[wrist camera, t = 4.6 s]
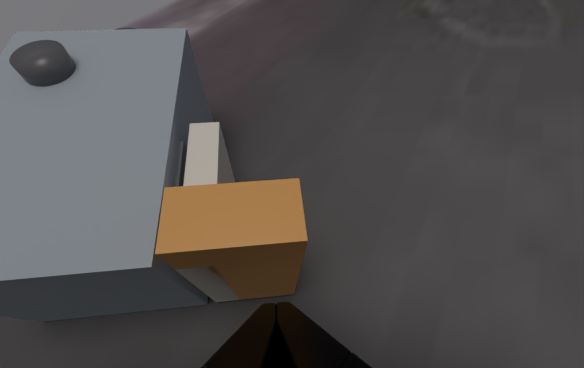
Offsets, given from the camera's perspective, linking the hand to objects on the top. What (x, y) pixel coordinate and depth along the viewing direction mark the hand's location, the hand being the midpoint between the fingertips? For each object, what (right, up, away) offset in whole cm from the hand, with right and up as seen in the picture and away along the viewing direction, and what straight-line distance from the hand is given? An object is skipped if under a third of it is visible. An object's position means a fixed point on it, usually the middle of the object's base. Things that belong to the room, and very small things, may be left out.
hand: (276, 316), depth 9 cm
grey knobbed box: (-9, +4, +9) cm, 13 cm away
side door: (-2, +1, +8) cm, 8 cm away
